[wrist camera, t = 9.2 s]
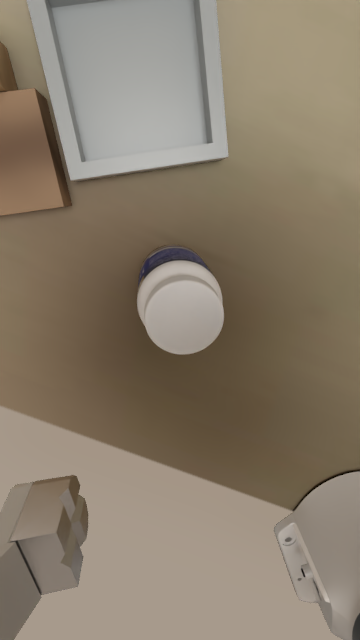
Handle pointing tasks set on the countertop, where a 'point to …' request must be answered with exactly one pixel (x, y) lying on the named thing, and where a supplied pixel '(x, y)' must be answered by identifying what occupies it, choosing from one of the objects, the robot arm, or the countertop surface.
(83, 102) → the tray
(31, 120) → the brown flat block
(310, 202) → the countertop surface
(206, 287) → the pill bottle
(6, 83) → the block
